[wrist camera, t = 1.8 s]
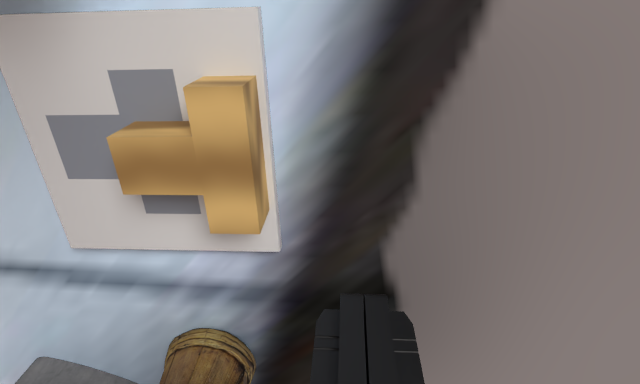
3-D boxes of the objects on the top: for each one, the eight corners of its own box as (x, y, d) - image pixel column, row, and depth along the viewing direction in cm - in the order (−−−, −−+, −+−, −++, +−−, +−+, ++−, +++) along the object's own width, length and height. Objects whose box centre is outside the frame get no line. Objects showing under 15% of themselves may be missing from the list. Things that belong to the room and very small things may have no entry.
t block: (123, 77, 25) (91, 88, 22) (256, 75, 25) (242, 86, 21) (156, 208, 30) (134, 232, 27) (269, 209, 29) (260, 234, 26)
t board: (-8, 14, 25) (-21, 15, 24) (260, 6, 24) (257, 6, 23) (78, 241, 33) (71, 248, 32) (281, 244, 32) (279, 251, 31)
